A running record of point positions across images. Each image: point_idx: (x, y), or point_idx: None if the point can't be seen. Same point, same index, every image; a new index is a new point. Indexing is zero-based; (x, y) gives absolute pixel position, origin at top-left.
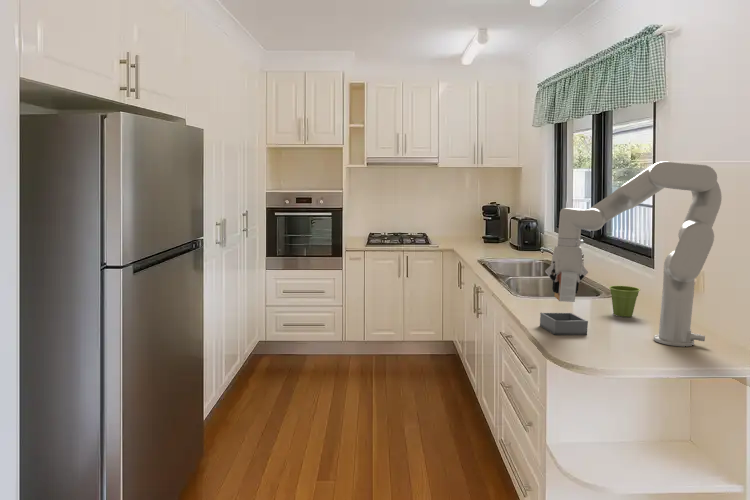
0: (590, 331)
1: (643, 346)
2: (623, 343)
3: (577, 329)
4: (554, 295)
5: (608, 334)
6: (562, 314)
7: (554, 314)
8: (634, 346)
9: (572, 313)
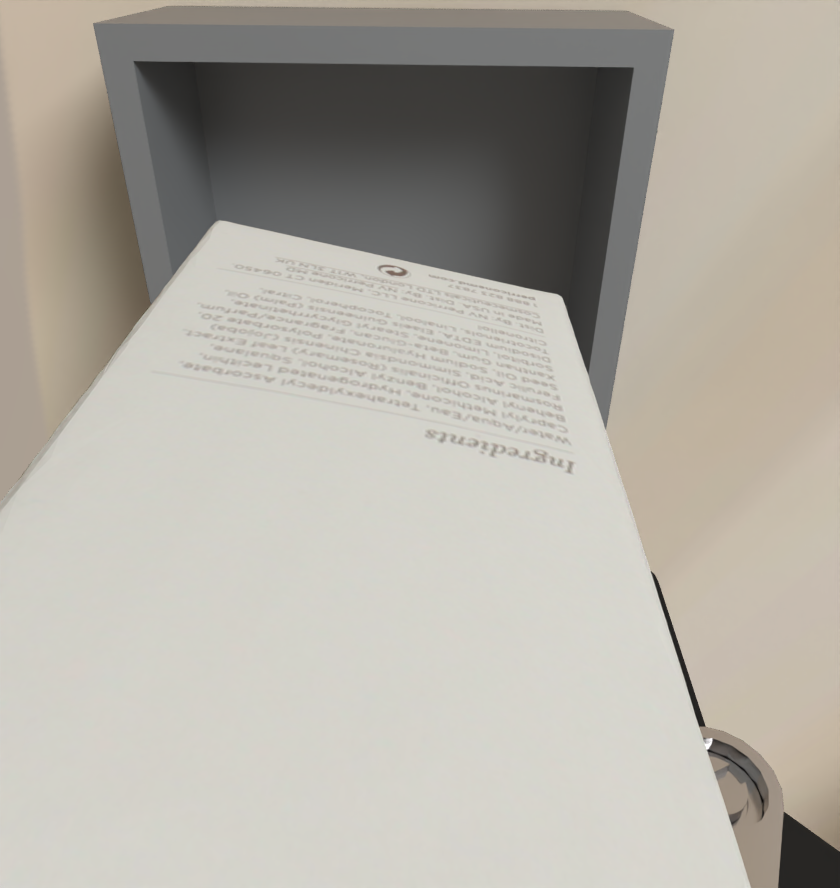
0: (708, 304)
1: (801, 709)
2: (711, 650)
3: None
4: (207, 236)
5: (814, 422)
6: (486, 62)
7: (343, 59)
8: (732, 705)
9: (658, 92)
